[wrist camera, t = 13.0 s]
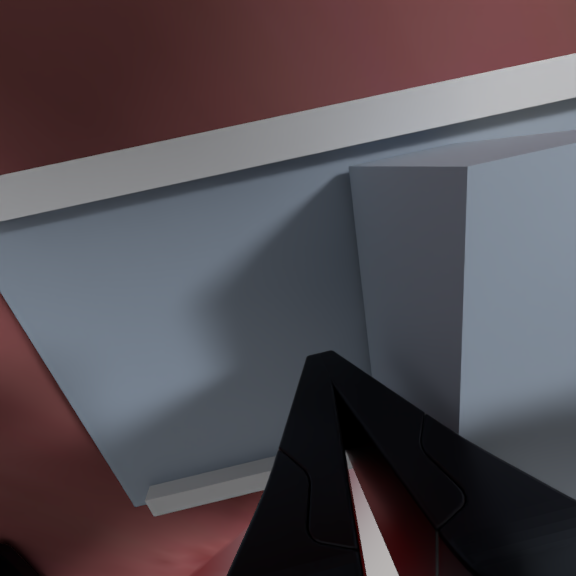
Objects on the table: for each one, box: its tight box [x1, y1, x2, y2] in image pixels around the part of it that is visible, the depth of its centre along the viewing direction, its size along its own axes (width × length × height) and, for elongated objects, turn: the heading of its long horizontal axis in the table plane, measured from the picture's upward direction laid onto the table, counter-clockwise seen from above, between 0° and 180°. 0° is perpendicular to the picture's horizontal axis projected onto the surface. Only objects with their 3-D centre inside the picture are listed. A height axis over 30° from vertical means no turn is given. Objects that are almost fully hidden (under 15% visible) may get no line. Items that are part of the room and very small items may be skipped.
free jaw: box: [349, 130, 576, 500], centre depth 8 cm, size 10×4×5 cm, turn 12°
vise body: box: [0, 53, 576, 517], centre depth 9 cm, size 13×26×6 cm, turn 102°
